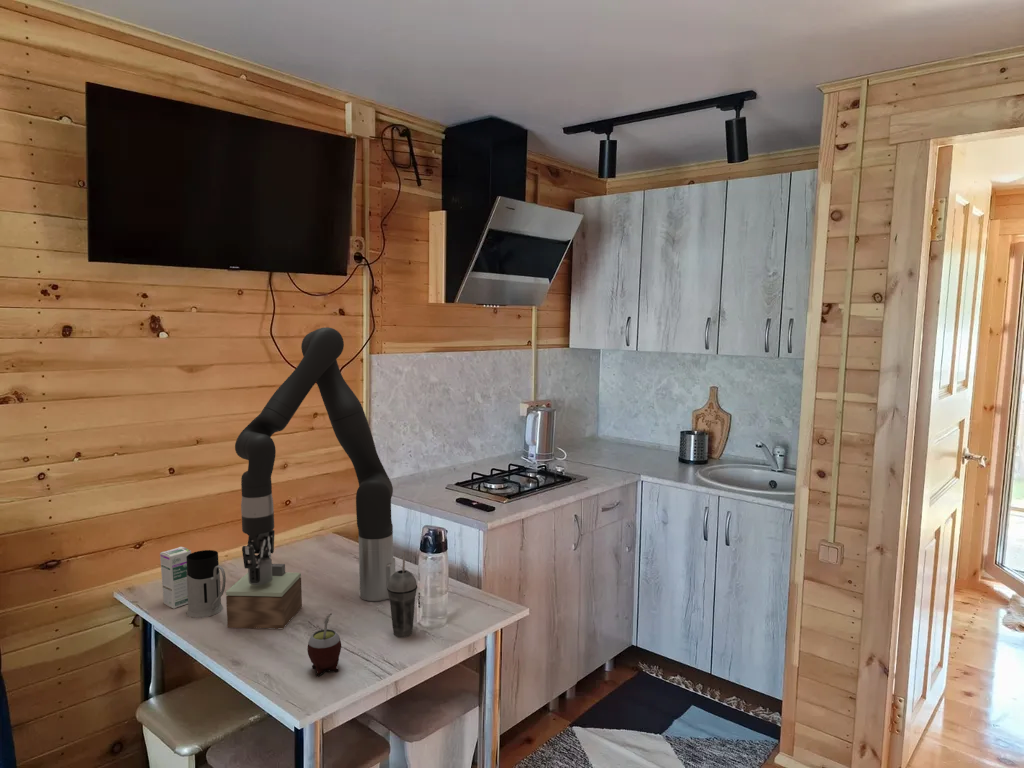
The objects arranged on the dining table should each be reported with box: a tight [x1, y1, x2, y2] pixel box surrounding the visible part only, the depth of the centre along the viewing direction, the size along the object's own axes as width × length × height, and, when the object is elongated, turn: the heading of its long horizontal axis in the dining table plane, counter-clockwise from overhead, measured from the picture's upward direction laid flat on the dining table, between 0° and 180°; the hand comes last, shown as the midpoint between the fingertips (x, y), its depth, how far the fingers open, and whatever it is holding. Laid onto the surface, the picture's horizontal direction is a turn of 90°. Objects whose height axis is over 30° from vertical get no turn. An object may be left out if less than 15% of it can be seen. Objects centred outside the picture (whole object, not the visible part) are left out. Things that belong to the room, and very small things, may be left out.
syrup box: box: [159, 546, 192, 610], centre depth 182 cm, size 6×6×14 cm
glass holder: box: [186, 549, 227, 619], centre depth 176 cm, size 9×14×15 cm, turn 54°
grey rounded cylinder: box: [247, 557, 273, 585], centre depth 171 cm, size 6×6×5 cm
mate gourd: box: [306, 612, 342, 678], centre depth 147 cm, size 8×8×15 cm
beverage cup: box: [387, 551, 418, 638], centre depth 164 cm, size 7×7×20 cm
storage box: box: [225, 576, 303, 630], centre depth 174 cm, size 14×13×8 cm
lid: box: [225, 563, 302, 597], centre depth 173 cm, size 14×13×4 cm
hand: (260, 577), depth 171 cm, fingers closed on grey rounded cylinder, 5 cm apart
